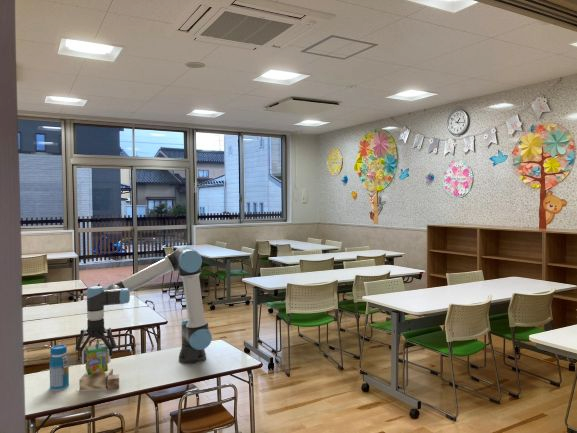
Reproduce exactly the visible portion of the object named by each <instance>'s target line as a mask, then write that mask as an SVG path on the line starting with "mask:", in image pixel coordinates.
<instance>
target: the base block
mask: <svg viewBox="0 0 577 433" xmlns="http://www.w3.org/2000/svg"><path fill="white" fill-rule="evenodd" d="M109 375H114V369H113V368H108V371H106V372H100V373H95V374H90V375H88V374H87V371H86V372H85V373H83V375H82V376H81V377H80V378H79V379H78V380H79V387H80V389H79V390H95V389H108V376H109Z"/></svg>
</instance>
